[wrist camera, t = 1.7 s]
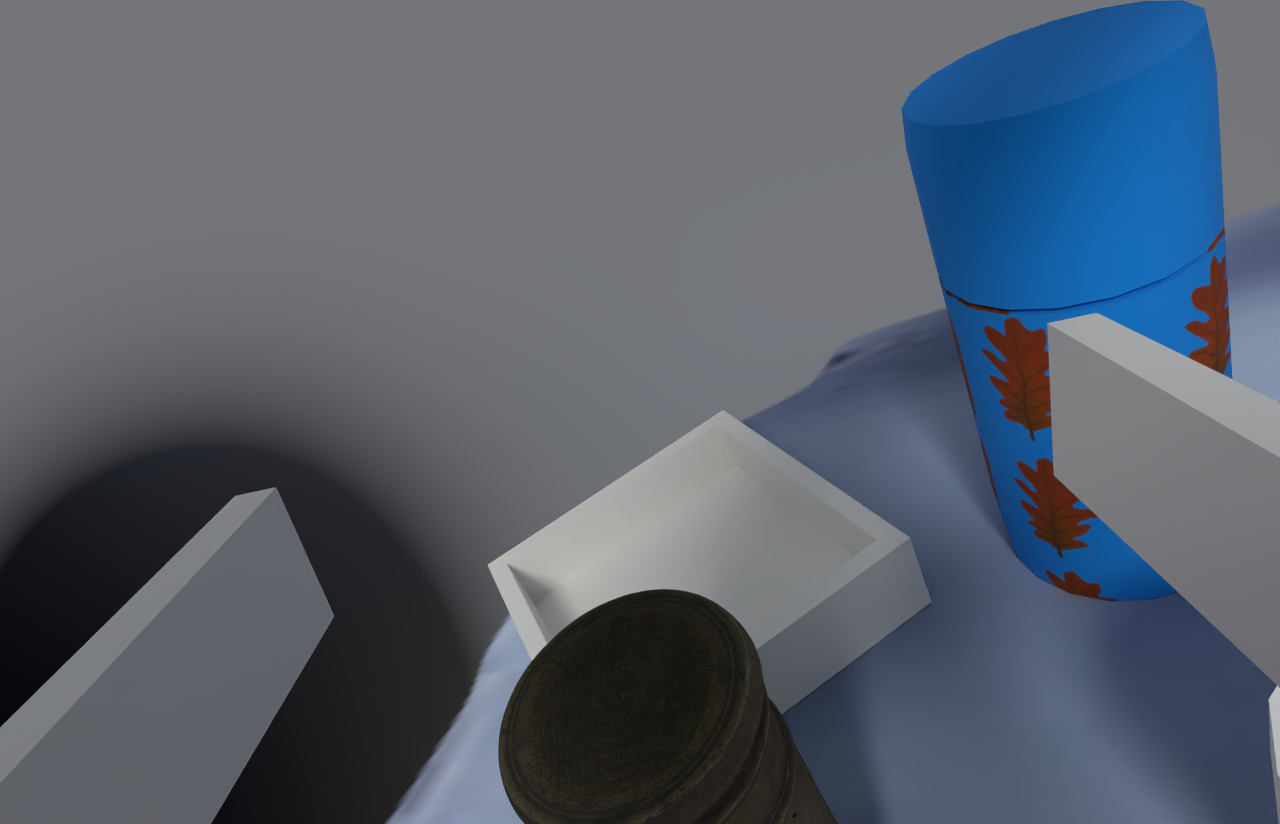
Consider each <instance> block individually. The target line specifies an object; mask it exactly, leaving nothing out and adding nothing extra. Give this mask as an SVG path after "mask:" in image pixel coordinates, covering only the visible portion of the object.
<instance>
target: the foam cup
mask: <svg viewBox="0 0 1280 824" xmlns="http://www.w3.org/2000/svg"><path fill="white" fill-rule="evenodd" d="M1269 727H1270V753H1271V762H1272V770H1273V779H1274V788H1275V797H1276V805H1277V814H1278V823H1279V824H1280V688H1279V687H1278V686H1277V687H1276V688H1275V690H1274V692H1273V693H1272V695H1271V696H1270V698H1269Z"/></svg>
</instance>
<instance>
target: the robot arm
mask: <svg viewBox="0 0 1280 824" xmlns="http://www.w3.org/2000/svg"><path fill="white" fill-rule="evenodd" d="M1047 327H1048V350H1049V374H1050V397H1051V421H1052V444H1053V468H1054V476H1055V477H1056V478H1057V479H1058V480H1059V481H1060V482H1061V483H1063V484H1064V485H1065V486H1066V487H1067V488H1068V489H1069V490H1070V491H1071V492H1072V493H1073V494H1074V495H1075V496H1076V497H1077V498H1078V499H1080V500H1081V501H1082V502H1083V503H1084V504H1085V505H1086V506H1087V507H1088V508H1089V509H1090V510H1091V511H1092V512H1093V513H1094V514H1095V515H1097V516H1098V517H1099V518H1100V519H1101V520H1102V521H1103V522H1104V523H1105V524H1106V525H1107V526H1108V527H1109V528H1110V529H1111V530H1112V531H1114V532H1115V533H1116V534H1117V535H1118V536H1119V537H1120V538H1121V539H1122V540H1123V541H1124V542H1125V543H1126V544H1127V545H1128V546H1129V547H1131V548H1132V549H1133V550H1134V551H1135V552H1136V553H1137V554H1138V555H1139V556H1140V557H1141V558H1142V559H1143V560H1144V561H1145V562H1147V563H1148V564H1149V565H1150V566H1151V567H1152V568H1153V569H1154V570H1155V571H1156V572H1157V573H1158V574H1159V575H1160V576H1161V577H1162V578H1164V579H1165V580H1166V581H1167V582H1168V583H1169V584H1170V585H1171V586H1172V587H1173V588H1174V589H1175V590H1176V591H1177V592H1178V593H1179V594H1181V595H1182V596H1183V597H1184V598H1185V599H1186V600H1187V601H1188V602H1189V603H1190V604H1191V605H1192V606H1193V607H1194V608H1195V609H1196V610H1198V611H1199V612H1200V613H1201V614H1202V615H1203V616H1204V617H1205V618H1206V619H1207V620H1208V621H1209V622H1210V623H1211V624H1212V625H1213V626H1215V627H1216V628H1217V629H1218V630H1219V631H1220V632H1221V633H1222V634H1223V635H1224V636H1225V637H1226V638H1227V639H1228V640H1229V641H1230V642H1232V643H1233V644H1234V645H1235V646H1236V647H1237V648H1238V649H1239V650H1240V651H1241V652H1242V653H1243V654H1244V655H1245V656H1246V657H1247V658H1249V659H1250V660H1251V661H1252V662H1253V663H1254V664H1255V665H1256V666H1257V667H1258V668H1259V669H1260V670H1261V671H1262V672H1263V673H1265V674H1266V675H1267V676H1268V677H1269V678H1270V679H1271V680H1272V681H1273V682H1274V683H1275V684H1276V685H1277V686H1278V687H1279V688H1280V402H1278V401H1276V400H1274V399H1272V398H1270V397H1267V396H1265V395H1263V394H1261V393H1259V392H1257V391H1255V390H1253V389H1251V388H1249V387H1247V386H1245V385H1243V384H1241V383H1239V382H1237V381H1235V380H1233V379H1231V378H1229V377H1227V376H1225V375H1223V374H1221V373H1219V372H1217V371H1215V370H1212V369H1210V368H1208V367H1206V366H1204V365H1202V364H1200V363H1198V362H1196V361H1194V360H1192V359H1190V358H1188V357H1186V356H1184V355H1182V354H1180V353H1178V352H1176V351H1174V350H1172V349H1170V348H1168V347H1166V346H1164V345H1162V344H1159V343H1157V342H1155V341H1153V340H1151V339H1149V338H1147V337H1145V336H1143V335H1141V334H1139V333H1137V332H1135V331H1133V330H1131V329H1129V328H1127V327H1125V326H1123V325H1121V324H1119V323H1117V322H1115V321H1113V320H1111V319H1109V318H1106V317H1104V316H1102V315H1100V314H1098V313H1093V314H1089V315H1084V316H1079V317H1075V318H1070V319H1065V320H1060V321H1056V322H1051V323H1047ZM333 617H334V615H333V613H332V611H331V608H330V606H329V604H328V602H327V599H326V597H325V595H324V593H323V591H322V588H321V586H320V584H319V582H318V579H317V577H316V575H315V573H314V570H313V568H312V566H311V564H310V562H309V559H308V557H307V555H306V553H305V550H304V548H303V546H302V544H301V542H300V539H299V537H298V535H297V533H296V531H295V528H294V526H293V524H292V522H291V519H290V517H289V515H288V513H287V510H286V508H285V506H284V504H283V502H282V500H281V497H280V495H279V493H278V491H277V488H271V489H266V490H262V491H257V492H252V493H247V494H243V495H238V496H235V497H234V498H233V499H232V500H231V501H230V502H229V503H228V504H227V505H226V506H225V507H224V508H223V509H222V510H221V511H220V512H219V513H218V514H216V515H215V516H214V517H213V519H211V520H210V521H209V522H208V523H207V524H206V525H205V526H204V527H203V528H202V529H201V530H200V531H199V532H198V533H197V534H196V535H195V536H194V538H192V539H191V540H190V541H189V542H188V543H187V544H186V545H185V546H184V547H183V548H182V549H181V550H180V551H179V552H178V553H177V554H176V555H175V556H174V557H173V558H172V559H171V560H170V561H169V562H168V563H167V564H166V565H165V566H164V567H163V568H162V569H161V570H160V571H159V572H158V573H157V574H156V575H155V576H154V577H153V578H152V579H151V580H150V581H149V582H147V584H146V585H144V586H143V588H141V590H139V591H138V592H137V593H136V594H135V595H134V596H133V597H132V598H131V599H130V600H129V601H128V602H127V603H126V604H125V605H124V606H123V607H122V608H121V609H120V610H119V611H118V612H117V613H116V614H115V615H114V616H113V617H112V618H111V619H110V620H109V621H108V622H107V623H106V624H105V625H104V626H103V627H102V628H101V629H100V630H99V631H98V632H97V633H96V634H95V635H94V636H93V637H92V638H91V639H90V640H89V641H88V642H87V643H86V644H85V645H84V646H83V647H82V648H81V649H80V650H79V651H78V652H76V654H75V655H73V656H72V657H71V658H70V660H68V661H67V662H66V663H65V664H64V665H63V666H62V667H61V668H60V669H59V670H58V671H57V672H56V673H55V674H54V675H53V676H52V677H51V678H50V679H49V680H48V681H47V682H46V683H45V684H44V685H43V686H42V687H41V688H40V689H39V690H38V691H37V692H36V693H35V694H34V695H33V696H32V697H31V698H30V699H29V700H28V701H27V702H26V703H25V704H24V705H23V706H22V707H21V708H20V709H19V710H18V711H17V712H16V713H15V714H14V715H13V716H12V717H11V718H10V719H9V720H8V721H7V722H6V723H4V724H3V725H2V727H1V728H0V824H211V823H212V821H213V819H214V817H215V816H216V814H217V812H218V811H219V809H220V807H221V805H222V804H223V802H224V800H225V799H226V797H227V796H228V794H229V792H230V790H231V789H232V787H233V785H234V784H235V782H236V780H237V779H238V777H239V775H240V774H241V772H242V770H243V769H244V767H245V765H246V764H247V762H248V760H249V759H250V757H251V755H252V753H253V752H254V750H255V748H256V747H257V745H258V743H259V742H260V740H261V738H262V737H263V735H264V733H265V732H266V730H267V728H268V727H269V725H270V723H271V722H272V720H273V718H274V716H275V715H276V713H277V711H278V710H279V708H280V706H281V704H282V703H283V701H284V700H285V698H286V696H287V694H288V693H289V691H290V690H291V688H292V686H293V684H294V683H295V681H296V679H297V678H298V676H299V674H300V673H301V671H302V669H303V668H304V666H305V664H306V663H307V661H308V659H309V657H310V656H311V654H312V652H313V651H314V649H315V647H316V646H317V644H318V642H319V641H320V639H321V637H322V636H323V634H324V632H325V631H326V629H327V627H328V626H329V624H330V622H331V620H332V619H333Z"/></svg>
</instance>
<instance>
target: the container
mask: <svg viewBox="0 0 1280 824" xmlns="http://www.w3.org/2000/svg"><path fill="white" fill-rule="evenodd" d="M498 756H499V767H500V772H501V777H502V781H503V785H504V788H505V791H506V794H507V796H508V798H509V801H510V803H511V805H512V807H513V809H514V810H515V812H516V813H517V814H518V816H519V818H520V819H521V820H522V821H523V822H524V823H525V824H838V823H837V822H836V820H835V819H834V817H833V815H832V813H831V811H830V809H829V808H828V806H827V804H826V802H825V800H824V798H823V797H822V795H821V793H820V791H819V789H818V788H817V786H816V784H815V782H814V780H813V778H812V776H811V774H810V772H809V770H808V768H807V766H806V764H805V762H804V761H803V759H802V757H801V755H800V754H799V752H798V750H797V748H796V746H795V745H794V743H793V740H792V736H791V733H790V730H789V728H788V726H787V723H786V721H785V719H784V718H783V716H782V714H781V713H780V711H779V710H778V708H777V707H776V705H775V704H774V703H773V701H772V700H771V699H770V698H769V697H768V695H767V690H766V687H765V684H764V681H763V673H762V667H761V662H760V658H759V655H758V652H757V650H756V648H755V645H754V643H753V641H752V639H751V637H750V636H749V634H748V633H747V631H746V630H745V629H744V627H743V626H742V625H741V624H740V622H739V621H738V620H737V619H736V618H735V617H734V616H733V615H732V614H730V613H729V612H728V611H727V610H725V609H724V608H723V607H721V606H720V605H718V604H717V603H715V602H713V601H712V600H710V599H708V598H705V597H703V596H701V595H698V594H695V593H691V592H687V591H682V590H674V589H654V590H646V591H640V592H636V593H631V594H628V595H624V596H621V597H619V598H616V599H613V600H610V601H608V602H606V603H604V604H601V605H599V606H597V607H595V608H593V609H592V610H590V611H588V612H586V613H585V614H583V615H582V616H580V617H578V618H577V619H576V620H574V621H573V622H571V623H570V624H569V625H567V626H566V627H565V628H564V629H562V630H561V631H560V632H559V633H558V634H557V635H556V636H555V637H554V638H553V639H552V640H551V641H550V642H549V643H548V644H547V645H546V646H545V647H544V648H543V649H542V650H541V651H540V652H539V653H538V654H537V655H536V657H535V658H534V659H533V660H532V662H531V663H530V664H529V666H528V667H527V669H526V670H525V672H524V673H523V675H522V676H521V678H520V679H519V681H518V683H517V685H516V687H515V689H514V691H513V693H512V695H511V697H510V700H509V702H508V705H507V707H506V710H505V713H504V716H503V720H502V724H501V729H500V735H499V751H498Z"/></svg>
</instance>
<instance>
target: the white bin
mask: <svg viewBox="0 0 1280 824" xmlns="http://www.w3.org/2000/svg"><path fill="white" fill-rule="evenodd" d="M488 567H489V569H490V571H491V573H492V576H493V578H494V580H495V582H496V584H497V586H498V588H499V591H500V593H501V595H502V597H503V599H504V602H505V604H506V606H507V608H508V610H509V613H510V615H511V617H512V619H513V621H514V623H515V626H516V628H517V630H518V632H519V634H520V636H521V639H522V641H523V643H524V645H525V647H526V649H527V652H528V654H529V656H530V658H531V660H533V659H534V658H535V657H536V655H537V654H538V653H539V652H540V651H541V650H542V649H543V648H544V647H545V646H546V645H547V644H548V643H549V642H550V641H551V640H552V639H553V638H554V637H555V636H556V635H557V634H558V633H559V632H560V631H561V630H562V629H564V628H565V627H566V626H567V625H569V624H570V623H571V622H573V621H574V620H576V619H577V618H578V617H580V616H582V615H583V614H585V613H586V612H588V611H590V610H592V609H593V608H595V607H597V606H599V605H601V604H604V603H606V602H608V601H610V600H613V599H616V598H619V597H621V596H624V595H628V594H631V593H636V592H640V591H646V590H654V589H674V590H682V591H687V592H691V593H695V594H698V595H701V596H703V597H705V598H708V599H710V600H712V601H713V602H715V603H717V604H718V605H720V606H721V607H723V608H724V609H725V610H727V611H728V612H729V613H730V614H732V615H733V616H734V617H735V618H736V619H737V620H738V621H739V622H740V624H741V625H742V626H743V627H744V629H745V630H746V631H747V633H748V634H749V636H750V637H751V639H752V641H753V643H754V645H755V648H756V650H757V652H758V655H759V658H760V662H761V667H762V673H763V681H764V684H765V687H766V690H767V695H768V697H769V698H770V699H771V700H772V701H773V703H774V704H775V705H776V707H777V708H778V710H779V711H780V713H781V714H783V713H785V712H786V711H787V710H789V709H790V708H791V707H793V706H794V705H795V704H796V703H798V702H799V701H800V700H802V699H803V698H804V697H806V696H807V695H808V694H810V693H811V692H812V691H814V690H815V689H816V688H818V687H819V686H820V685H822V684H823V683H824V682H826V681H827V680H828V679H830V678H831V677H832V676H834V675H835V674H836V673H838V672H839V671H840V670H842V669H843V668H844V667H846V666H847V665H848V664H850V663H851V662H852V661H854V660H855V659H856V658H858V657H859V656H860V655H862V654H863V653H864V652H866V651H867V650H868V649H870V648H871V647H872V646H874V645H875V644H876V643H878V642H879V641H880V640H882V639H883V638H884V637H886V636H887V635H888V634H890V633H891V632H892V631H894V630H895V629H896V628H898V627H899V626H900V625H902V624H903V623H904V622H906V621H907V620H908V619H910V618H911V617H912V616H914V615H915V614H916V613H918V612H919V611H920V610H922V609H923V608H924V607H926V606H927V605H928V604H930V603H931V602H932V601H931V598H930V595H929V592H928V589H927V586H926V583H925V580H924V577H923V574H922V571H921V568H920V565H919V562H918V559H917V556H916V553H915V550H914V548H913V545H912V542H911V539H910V537H909V536H907V535H906V534H904V533H903V532H901V531H900V530H898V529H897V528H895V527H894V526H892V525H891V524H890V523H888V522H887V521H885V520H884V519H882V518H881V517H879V516H878V515H876V514H875V513H873V512H872V511H870V510H869V509H868V508H866V507H865V506H863V505H862V504H860V503H859V502H857V501H856V500H854V499H853V498H851V497H850V496H848V495H847V494H846V493H844V492H843V491H841V490H840V489H838V488H837V487H835V486H834V485H832V484H831V483H829V482H828V481H827V480H825V479H824V478H822V477H821V476H819V475H818V474H816V473H815V472H813V471H812V470H810V469H809V468H807V467H806V466H805V465H803V464H802V463H800V462H799V461H797V460H796V459H794V458H793V457H791V456H790V455H788V454H787V453H785V452H784V451H783V450H781V449H780V448H778V447H777V446H775V445H774V444H772V443H771V442H769V441H768V440H766V439H765V438H763V437H762V436H761V435H759V434H758V433H756V432H755V431H753V430H752V429H750V428H749V427H747V426H746V425H744V424H743V423H741V422H740V421H739V420H737V419H735V418H734V417H733V416H731V415H730V414H728V413H727V412H725V411H724V410H723V411H721V412H720V413H718V414H716V415H715V416H714V417H712V418H710V419H709V420H707V421H706V422H704V423H703V424H701V425H700V426H698V427H697V428H695V429H694V430H692V431H691V432H689V433H688V434H686V435H684V436H683V437H681V438H680V439H678V440H677V441H675V442H674V443H672V444H671V445H669V446H668V447H666V448H665V449H663V450H662V451H660V452H659V453H657V454H656V455H654V456H653V457H651V458H649V459H648V460H647V461H645V462H643V463H642V464H640V465H639V466H637V467H636V468H634V469H633V470H631V471H630V472H628V473H627V474H625V475H624V476H622V477H621V478H619V479H618V480H616V481H614V482H613V483H611V484H610V485H608V486H607V487H605V488H604V489H602V490H601V491H599V492H598V493H596V494H595V495H593V496H592V497H590V498H589V499H587V500H586V501H584V502H583V503H581V504H580V505H578V506H577V507H575V508H573V509H572V510H571V511H569V512H567V513H566V514H564V515H563V516H561V517H560V518H558V519H557V520H555V521H554V522H552V523H551V524H549V525H548V526H546V527H545V528H543V529H541V530H540V531H538V532H537V533H536V534H534V535H533V536H531V537H529V538H528V539H526V540H525V541H523V542H522V543H520V544H519V545H517V546H516V547H514V548H513V549H511V550H510V551H508V552H506V553H505V554H503V555H502V556H500V557H499V558H497V559H496V560H494V561H493V562H491V563H490V564H488Z"/></svg>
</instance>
